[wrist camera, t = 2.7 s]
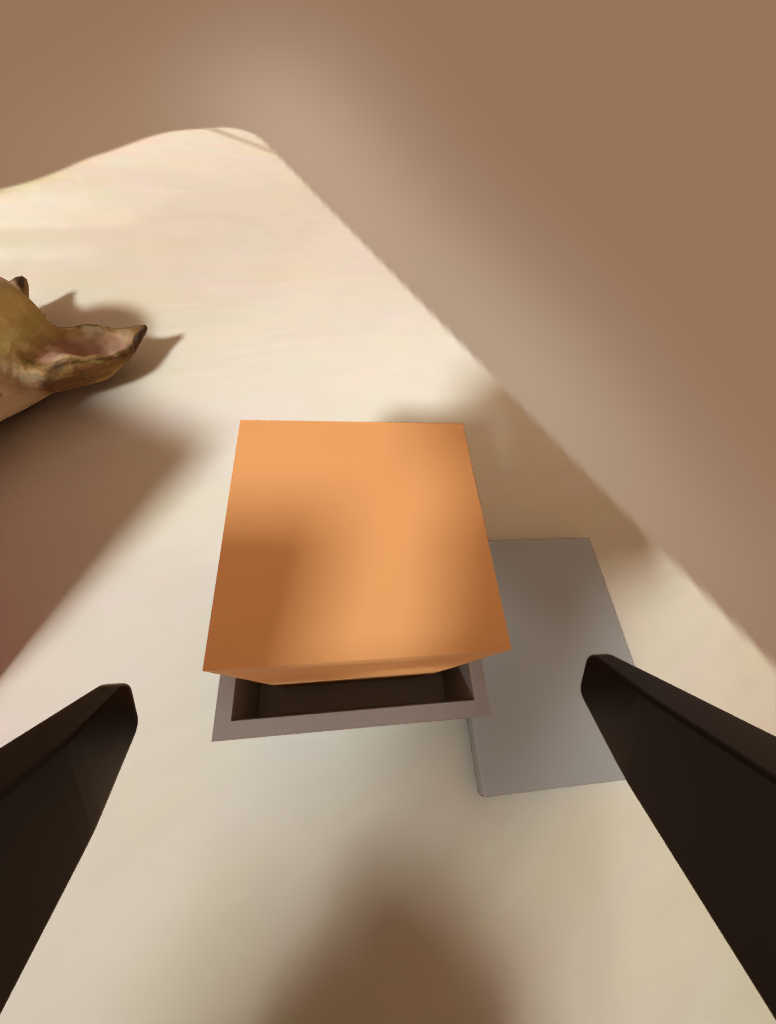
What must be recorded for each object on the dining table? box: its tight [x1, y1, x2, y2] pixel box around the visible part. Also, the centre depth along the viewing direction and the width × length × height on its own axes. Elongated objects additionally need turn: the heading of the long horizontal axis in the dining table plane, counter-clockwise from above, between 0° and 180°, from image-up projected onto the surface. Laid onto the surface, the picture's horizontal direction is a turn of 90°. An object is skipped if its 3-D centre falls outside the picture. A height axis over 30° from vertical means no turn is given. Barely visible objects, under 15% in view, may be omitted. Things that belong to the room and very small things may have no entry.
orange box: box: [203, 420, 512, 687], centre depth 13 cm, size 6×6×10 cm
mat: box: [467, 538, 635, 797], centre depth 18 cm, size 11×8×1 cm
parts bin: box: [212, 659, 491, 741], centre depth 16 cm, size 9×9×4 cm
